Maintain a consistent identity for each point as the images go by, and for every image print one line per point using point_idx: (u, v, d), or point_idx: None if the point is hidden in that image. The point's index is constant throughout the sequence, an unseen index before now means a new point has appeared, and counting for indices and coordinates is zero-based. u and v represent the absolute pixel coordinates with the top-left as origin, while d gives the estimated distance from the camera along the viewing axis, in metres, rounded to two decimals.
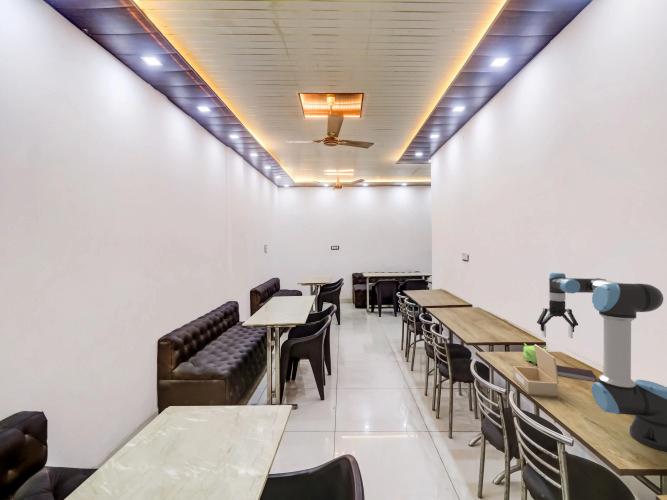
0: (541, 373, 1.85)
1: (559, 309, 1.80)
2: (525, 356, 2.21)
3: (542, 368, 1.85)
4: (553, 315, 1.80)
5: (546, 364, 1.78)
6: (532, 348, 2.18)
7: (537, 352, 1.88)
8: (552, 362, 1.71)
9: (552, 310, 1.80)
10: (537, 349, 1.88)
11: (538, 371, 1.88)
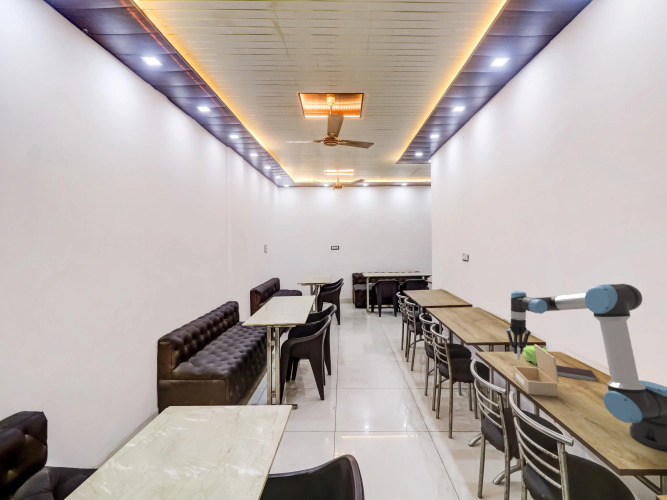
0: (541, 373, 1.85)
1: (520, 328, 1.81)
2: (525, 356, 2.21)
3: (542, 368, 1.85)
4: (517, 334, 1.81)
5: (546, 364, 1.78)
6: (532, 348, 2.18)
7: (537, 352, 1.88)
8: (552, 362, 1.71)
9: (513, 328, 1.82)
10: (537, 349, 1.88)
11: (538, 371, 1.88)
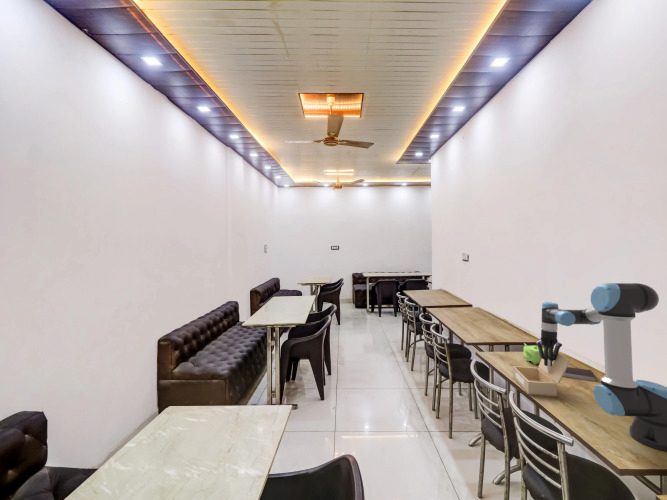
0: (541, 373, 1.85)
1: (551, 339, 1.78)
2: (525, 356, 2.21)
3: (544, 368, 1.84)
4: (548, 346, 1.78)
5: (553, 365, 1.78)
6: (532, 348, 2.18)
7: None
8: (563, 364, 1.70)
9: (544, 340, 1.79)
10: (548, 351, 1.87)
11: (538, 371, 1.88)
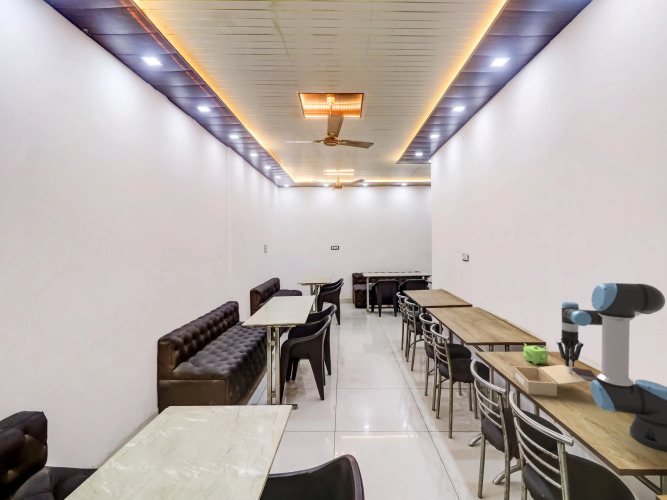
0: (541, 373, 1.85)
1: (572, 340, 1.76)
2: (525, 356, 2.21)
3: (546, 371, 1.84)
4: (569, 347, 1.76)
5: (561, 374, 1.77)
6: (532, 348, 2.18)
7: (558, 367, 1.86)
8: (577, 380, 1.69)
9: (565, 340, 1.77)
10: (561, 366, 1.86)
11: (538, 371, 1.88)
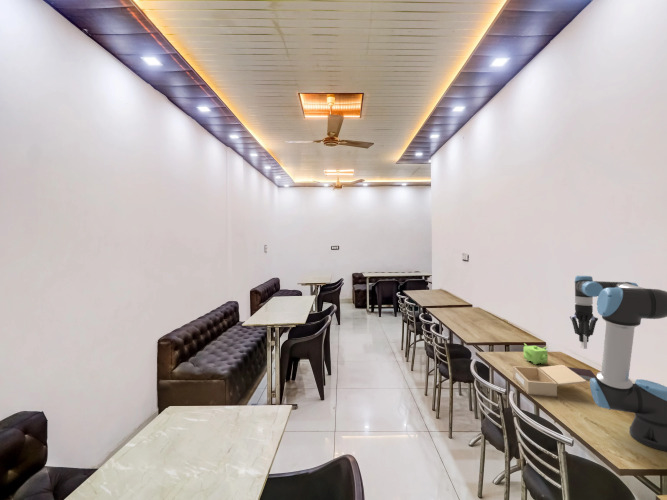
0: (541, 373, 1.85)
1: (586, 314, 1.71)
2: (525, 356, 2.21)
3: (546, 371, 1.84)
4: (583, 321, 1.70)
5: (561, 374, 1.77)
6: (532, 348, 2.18)
7: (558, 367, 1.86)
8: (577, 380, 1.69)
9: (579, 315, 1.71)
10: (561, 366, 1.86)
11: (538, 371, 1.88)
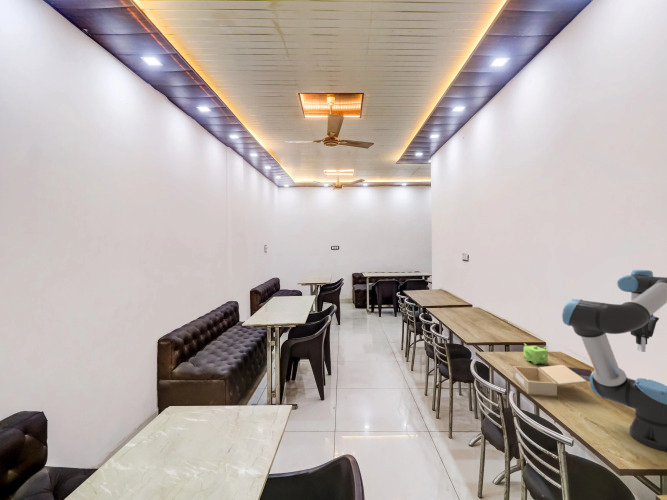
0: (541, 373, 1.85)
1: None
2: (525, 356, 2.21)
3: (546, 371, 1.84)
4: None
5: (561, 374, 1.77)
6: (532, 348, 2.18)
7: (558, 367, 1.86)
8: (577, 380, 1.69)
9: None
10: (561, 366, 1.86)
11: (538, 371, 1.88)
